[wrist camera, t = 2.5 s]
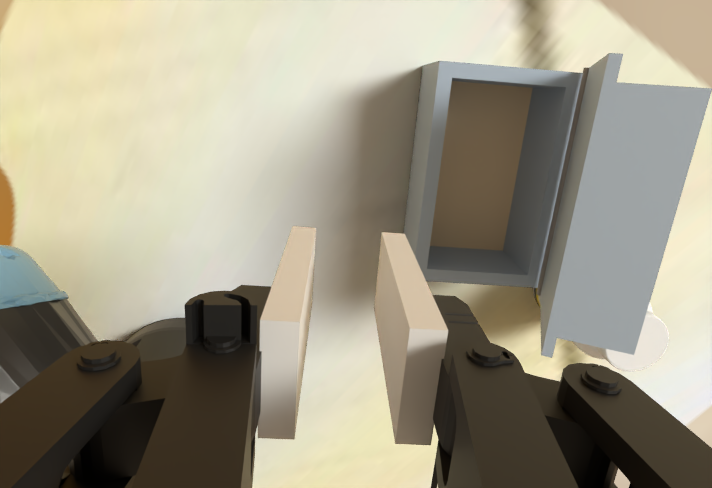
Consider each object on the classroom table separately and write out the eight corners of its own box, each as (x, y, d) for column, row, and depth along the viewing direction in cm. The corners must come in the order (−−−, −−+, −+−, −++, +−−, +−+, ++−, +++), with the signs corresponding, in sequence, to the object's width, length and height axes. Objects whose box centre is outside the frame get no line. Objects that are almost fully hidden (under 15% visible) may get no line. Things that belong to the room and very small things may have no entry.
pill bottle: (562, 325, 47) (631, 398, 35) (516, 287, 45) (573, 351, 34) (612, 277, 45) (700, 337, 34) (566, 236, 44) (642, 286, 33)
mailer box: (401, 251, 44) (412, 280, 37) (422, 65, 39) (439, 60, 32) (508, 257, 44) (537, 287, 37) (542, 76, 39) (583, 73, 33)
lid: (535, 353, 28) (627, 375, 27) (602, 52, 23) (721, 58, 21) (536, 292, 37) (604, 305, 36) (583, 68, 32) (665, 73, 31)
